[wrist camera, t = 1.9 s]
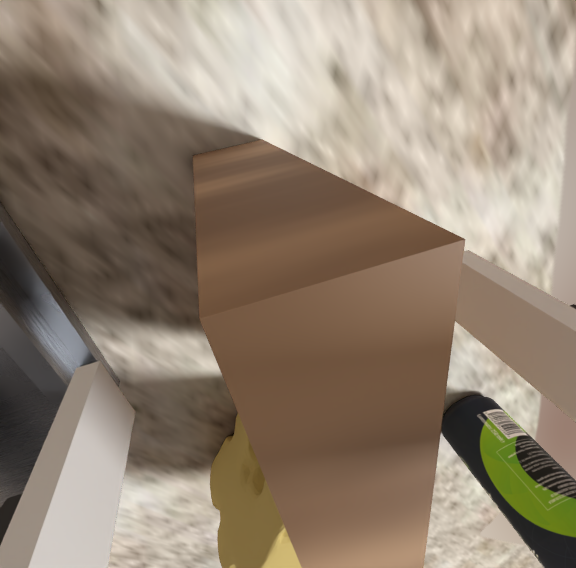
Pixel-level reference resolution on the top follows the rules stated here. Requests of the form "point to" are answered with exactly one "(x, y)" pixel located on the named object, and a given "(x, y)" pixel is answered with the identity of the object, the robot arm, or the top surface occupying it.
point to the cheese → (247, 509)
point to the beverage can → (517, 477)
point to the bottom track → (32, 356)
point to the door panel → (329, 347)
